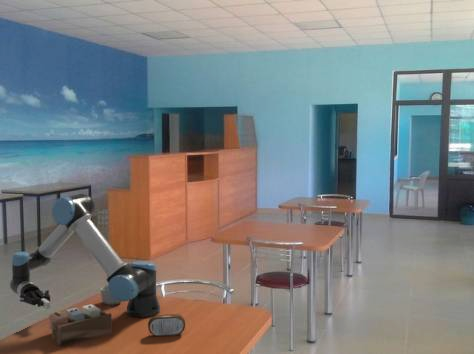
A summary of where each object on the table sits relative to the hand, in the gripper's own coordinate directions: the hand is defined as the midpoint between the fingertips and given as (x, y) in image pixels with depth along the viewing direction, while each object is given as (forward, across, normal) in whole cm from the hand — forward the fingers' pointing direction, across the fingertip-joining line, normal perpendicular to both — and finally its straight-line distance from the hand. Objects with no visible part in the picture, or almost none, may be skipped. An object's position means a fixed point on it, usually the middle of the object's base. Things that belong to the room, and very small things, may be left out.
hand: (48, 305), depth 215 cm
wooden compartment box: (+17, -7, -9) cm, 20 cm away
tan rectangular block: (+10, 0, -7) cm, 12 cm away
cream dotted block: (+10, -14, -7) cm, 19 cm away
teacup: (-13, -37, -10) cm, 40 cm away
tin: (+38, -34, -9) cm, 52 cm away
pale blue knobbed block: (+10, -7, -7) cm, 14 cm away
